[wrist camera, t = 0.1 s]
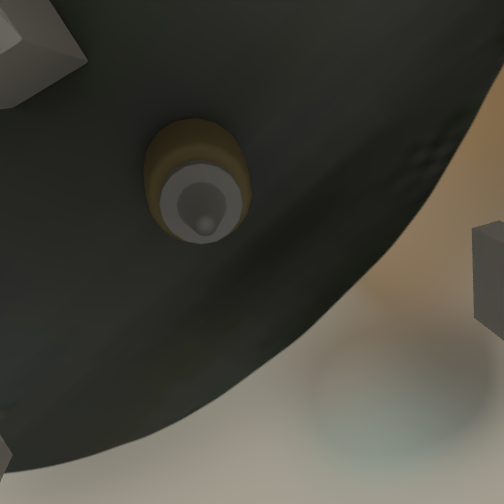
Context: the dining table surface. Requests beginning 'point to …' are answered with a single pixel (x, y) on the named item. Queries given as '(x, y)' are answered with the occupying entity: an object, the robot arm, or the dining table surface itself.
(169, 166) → the squeeze bottle
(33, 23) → the milk carton
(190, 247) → the dining table surface
